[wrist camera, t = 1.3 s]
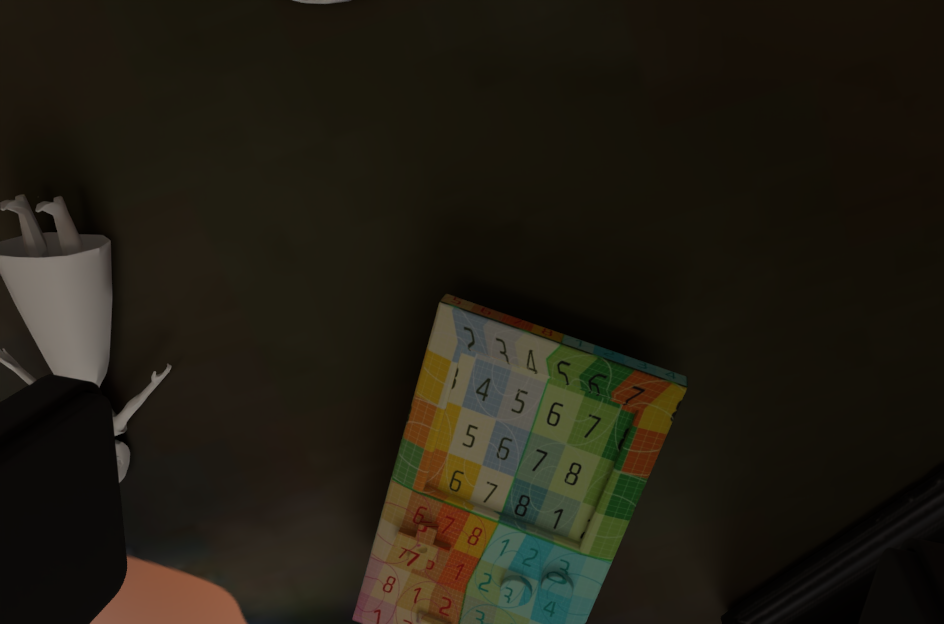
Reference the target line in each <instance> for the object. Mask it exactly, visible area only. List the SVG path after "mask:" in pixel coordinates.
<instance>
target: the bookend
mask: <svg viewBox="0 0 944 624" xmlns="http://www.w3.org/2000/svg"><path fill="white" fill-rule="evenodd" d="M909 538H916V539H921V540H926V541H931V542H937V543H942V544H944V470H942V471H941V472H939V473H938V474H936V475H935V476H933V477H932V478H930V479H929V480H927V481H926V482H924V483H922V484H921V485H919V486H918V487H916V488H915V489H913V490H911V491H909V492H907V493H905V494H904V495H903V496H902V497H901V498H899V499H898V500H897V501H895V502H893V503H891V504H890V505H888V506H887V507H885V508H884V509H882V510H881V511H879V512H878V513H876V514H874V515H873V516H872V517H870V518H869V519H868V520H865V521H864V522H863V523H861V524H859V525H858V526H856V527H855V528H853V529H852V530H850V531H849V532H847V533H846V534H844V535H843V536H841V537H840V538H839V539H838V540H836V541H834V542H832V543H831V544H829V545H828V546H826V547H825V548H823V549H821V550H820V551H818V552H817V553H815V554H814V555H812V556H811V557H809V558H808V559H806V560H805V561H803V562H802V563H801V564H799V565H797V566H796V567H794V568H793V569H791V570H790V571H788V572H787V573H785V574H783V575H782V576H780V577H779V578H777V579H776V580H774V581H773V582H771V583H770V584H768V585H767V586H765V587H764V588H762V589H760V590H759V591H757V592H756V593H754V594H753V595H751V596H750V597H748V598H747V599H745V600H744V601H742V602H741V603H740V604H738V605H737V606H735V607H733V608H732V609H730V610H729V611H728V612H727V613H725V614H724V615H723V616H721V621H722V624H858V623H859V620H860V617H861V614H862V611H863V608H864V605H865V602H866V599H867V596H868V593H869V590H870V587H871V584H872V581H873V578H874V575H875V572H876V569H877V566H878V563H879V560H880V558H881V556H882V553H883V552H884V551H885V549H886V548H889V547H891V548H896V549H900V548H901V546H902V544H903V543H904V542H905V541H906V539H909Z"/></svg>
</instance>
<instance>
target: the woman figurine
mask: <svg viewBox="0 0 944 624" xmlns="http://www.w3.org/2000/svg"><path fill="white" fill-rule="evenodd" d="M15 199H16V200H5V201H2V202H0V204H1V210H5V209H9V210H11V211H13V212H16V213H18V215H19V220H20V225H21V231H22V236H19V237H15V238H12V239H8V240H4V241H0V274H1V276H2V278H3V280H4V282H5V284H6V286H7V288H8V290H9V292H10V294H11V296H12V299H13V301H14V303H15V305H16V307H17V309H18V310H19V312H20V314H21V316H22V318H23V320H24V321H25V323H26V325H27V327H28V329H29V331H30V333H31V334H32V336H33V338H34V340H35V342H36V344H37V345H38V347H39V349H40V351H41V353H42V355H43V356H44V358H45V360H46V362H47V363H48V365H49V367H50V369H51V370H52V372H53V374H54V375H59V376H64V377H69V378H75V379H80V380H85V381H90V382H93V383H95V384H97V385H98V386H99V387H100V385H101V383H102V381H103V379H104V377H105V375H106V373H107V369H108V364H109V356H110V336H111V316H112V268H111V240H109V239H108V238H106V237H105V236H103V235H89V234H78V232H77V229H76V227H75V225H74V223H73V221H72V219H71V217H70V215H69V212H68V210H67V207H66V204H65V202H64V200H63V198H62V196H58V197H55V198H53V199H54V202H47V201H43V202H41V203H39V204H37V207H36V210H35V211H36V212H40V211H42V210H43V211H45V212H47V213H49V214H51V215H53V217H54V221H55V225H56V228H57V232H58V233H56V232H47V233H42V231H41V229H40V227H39V225H38V222H37V220H36V218H35V216H34V214H33V212H32V210H31V207H30V205H29V203H28V201H27V199H26V197H25V195H24V194H23V195H18V196H16V197H15ZM3 352H4V353H3ZM3 352H2V351H1V350H0V362H1V363H3V364H4V365H5V366H7V367H8V368H10V369H11V370H13V371H14V372H15V373H17V374H18V375H19V376H20V377H21V378H22V379H23V380H24V381H25V382H27V383H28V384H29V385H30V384H32V383H33V382H35V381H37V380H36V379H35V378H34V377H33V376H31V375H30V374H29V373H28V372H27V371H25V370H24V369H23V368H22V367H21V366H20V365H19V364H18V362H17V361H16V360H15V359H14V358H12V357H11V356H10V355H9V354H8V353H7V352H6V351H5V349H4V348H3ZM171 367H172V366H171V365H169V364H167V368H166V370H165V371H164V372H163V373H161V374H158V375H156V371H154V372H153V375H152V377H151V379H152V382H151V383H150V384H149V385H148V386H147V387H146V388H145V389H144V390H143V392H142V393H140V394H138V395H137V396H135V397H134V398H133V399H131V400H130V401H129V402H128V403H127V404H126V406H125V407H124V408H123V410H122V411H121V412H120V413H119V414H118V415H117V414H116V413H115V412H114V411H113V410H112V415H113V425H114V435H115V436H117V435H119V434H122V433H124V432H126V430H127V425H126V423H127V421H128V419H129V418H130V417H131V416H132V415H133V414H134V412H135V411H136V410H137V409H138V408H139V407H140V406H141V405H142V403H143V402H144V401H145V400H146V398H147V397H148V396H149V395H150V393H151V392H152V391H153V390H154V389H155V388H156V387H157V385H158V384H159V383H160V382H161V381H162V380H163V378H164V377H165V376H166V375H167V374H168V373H169V372H170V369H171ZM115 445H116V455H117V466H118V476H119V483H120V481H121V480H122V479H123V478H124V477H125V475H126V472H127V469H128V466H129V461H130V451H129V448H128V446H127V445H125V444H124V443H123V442H120V441H118V440H115Z"/></svg>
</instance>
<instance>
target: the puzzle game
mask: <svg viewBox="0 0 944 624" xmlns="http://www.w3.org/2000/svg"><path fill="white" fill-rule="evenodd" d="M687 387H688V382H687V377H686V376H683V375H681V374H678V373H675V372H672V371H669V370H666V369H663V368H660V367H657V366H654V365H652V364H649V363H646V362H643V361H640V360H637V359H634V358H631V357H628V356H626V355H623V354H620V353H617V352H614V351H611V350H608V349H605V348H602V347H599V346H597V345H594V344H591V343H588V342H585V341H582V340H579V339H576V338H573V337H570V336H568V335H565V334H562V333H559V332H556V331H553V330H550V329H547V328H544V327H542V326H539V325H536V324H533V323H530V322H527V321H524V320H521V319H518V318H515V317H513V316H510V315H507V314H504V313H501V312H498V311H495V310H492V309H489V308H487V307H484V306H481V305H478V304H475V303H472V302H469V301H466V300H463V299H460V298H458V297H455V296H452V295H449V294H445V295H444V296H443V297H442V299H441V300H440V302H439V306H438V309H437V313H436V317H435V320H434V324H433V327H432V331H431V335H430V338H429V342H428V346H427V349H426V353H425V357H424V360H423V364H422V368H421V371H420V375H419V378H418V382H417V386H416V389H415V393H414V397H413V400H412V404H411V408H410V411H409V415H408V419H407V422H406V426H405V429H404V433H403V437H402V440H401V444H400V448H399V451H398V455H397V459H396V462H395V466H394V470H393V473H392V477H391V480H390V484H389V488H388V491H387V495H386V499H385V502H384V506H383V510H382V513H381V517H380V521H379V524H378V528H377V531H376V535H375V539H374V542H373V546H372V550H371V553H370V557H369V561H368V564H367V568H366V572H365V575H364V579H363V582H362V586H361V590H360V593H359V597H358V601H357V604H356V608H355V612H354V615H353V619H352V620H353V621H356V622H358V623H361V624H585V623H586V621H587V619H588V616H589V614H590V612H591V609H592V607H593V605H594V603H595V600H596V598H597V596H598V593H599V591H600V589H601V586H602V584H603V582H604V579H605V577H606V575H607V572H608V570H609V568H610V565H611V563H612V561H613V558H614V556H615V554H616V552H617V549H618V547H619V545H620V542H621V540H622V538H623V535H624V533H625V531H626V528H627V526H628V524H629V521H630V519H631V517H632V514H633V512H634V510H635V507H636V505H637V503H638V501H639V498H640V496H641V494H642V491H643V489H644V487H645V484H646V482H647V480H648V477H649V475H650V473H651V470H652V468H653V466H654V463H655V461H656V459H657V456H658V454H659V452H660V450H661V447H662V445H663V443H664V440H665V438H666V436H667V433H668V431H669V429H670V426H671V424H672V422H673V419H674V417H675V415H676V412H677V410H678V408H679V405H680V403H681V401H682V399H683V396H684V394H685V392H686V389H687Z"/></svg>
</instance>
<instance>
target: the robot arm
mask: <svg viewBox="0 0 944 624" xmlns="http://www.w3.org/2000/svg"><path fill="white" fill-rule="evenodd" d="M294 1H298V2H303V3H316V4H328V3H337V2H346V1H351V0H294ZM126 571H127V557H126V546H125V536H124V526H123V516H122V506H121V496H120V486H119V476H118V466H117V455H116V445H115V435H114V425H113V415H112V407H111V403H110V401H109V399H108V398H107V397H105V396H103V395H102V391H101V389H100V388H99V386H98V385H97V384H95V383H93V382H90V381H85V380H80V379H75V378H69V377H64V376H59V375H47V376H44V377H42V378H40V379H38V380H37V381H35V382H33V383H32V384H30V385H28V386H27V387H25V388H23V389H22V390H20V391H18V392H17V393H15V394H13V395H12V396H10V397H8V398H7V399H5V400H4V401H2V402H0V624H90V622H91V621H92V620H93V619H94V618H95V617H96V616H97V615H98V614H99V613H100V612H101V611H102V610H103V608H104V607H105V606H106V605H107V604H108V603H109V602H110V601H111V600H112V598H114V596H115V595H116V594H117V593H118V591H119V590H120V588H121V586H122V584H123V582H124V579H125V576H126ZM858 624H944V544H942V543H937V542H931V541H926V540H921V539H916V538H909V539H906V541H905V542H904V543H903V544H902V546H901V548H900V549H896V548H891V547H889V548H886V549H885V551H884V552H883V553H882V556H881V558H880V560H879V563H878V566H877V569H876V572H875V575H874V578H873V581H872V584H871V587H870V590H869V593H868V596H867V599H866V602H865V605H864V608H863V611H862V614H861V617H860V620H859V623H858Z"/></svg>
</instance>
